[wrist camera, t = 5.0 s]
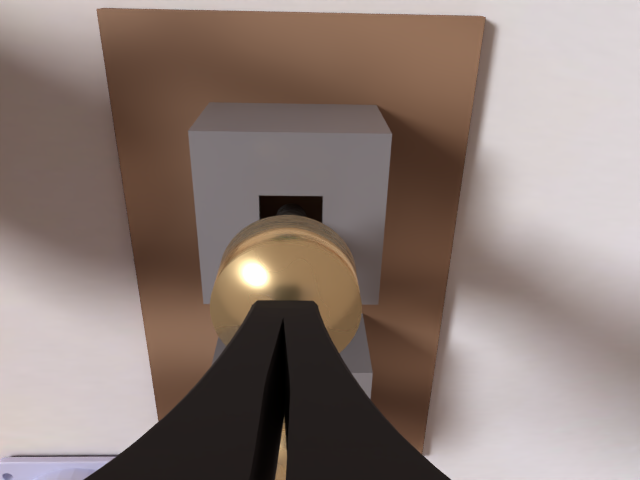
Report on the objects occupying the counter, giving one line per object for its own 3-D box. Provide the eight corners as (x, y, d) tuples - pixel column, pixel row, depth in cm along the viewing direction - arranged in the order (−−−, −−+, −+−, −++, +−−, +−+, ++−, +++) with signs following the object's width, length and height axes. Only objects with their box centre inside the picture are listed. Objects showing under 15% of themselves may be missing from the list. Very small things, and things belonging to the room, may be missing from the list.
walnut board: (418, 451, 28) (421, 460, 28) (167, 452, 28) (164, 461, 27) (480, 15, 19) (485, 17, 18) (102, 8, 18) (96, 9, 18)
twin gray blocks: (355, 416, 26) (363, 485, 23) (231, 417, 26) (219, 486, 22) (376, 104, 19) (392, 133, 16) (209, 102, 19) (187, 130, 16)
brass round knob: (344, 265, 19) (357, 371, 14) (239, 264, 18) (215, 370, 14) (348, 165, 17) (366, 244, 12) (233, 164, 17) (204, 243, 12)
